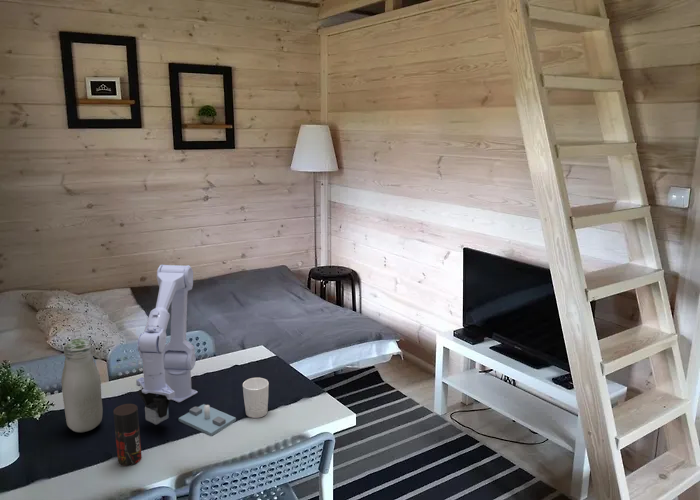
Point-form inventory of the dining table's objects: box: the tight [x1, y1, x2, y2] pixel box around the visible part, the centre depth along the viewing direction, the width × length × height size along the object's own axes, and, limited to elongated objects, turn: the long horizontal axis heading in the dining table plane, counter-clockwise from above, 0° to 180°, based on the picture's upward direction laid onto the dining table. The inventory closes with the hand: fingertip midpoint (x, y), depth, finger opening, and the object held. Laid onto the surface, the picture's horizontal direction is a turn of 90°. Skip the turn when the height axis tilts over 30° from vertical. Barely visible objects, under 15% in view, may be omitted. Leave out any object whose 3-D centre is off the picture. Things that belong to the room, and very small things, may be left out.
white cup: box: [242, 377, 270, 419], centre depth 171 cm, size 8×8×10 cm
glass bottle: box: [61, 337, 104, 433], centre depth 159 cm, size 10×10×28 cm
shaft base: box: [178, 403, 237, 437], centre depth 167 cm, size 14×10×5 cm
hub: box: [144, 401, 170, 425], centre depth 162 cm, size 5×5×4 cm
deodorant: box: [112, 403, 143, 467], centre depth 147 cm, size 6×6×15 cm
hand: (157, 413), depth 162 cm, fingers closed on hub, 5 cm apart
